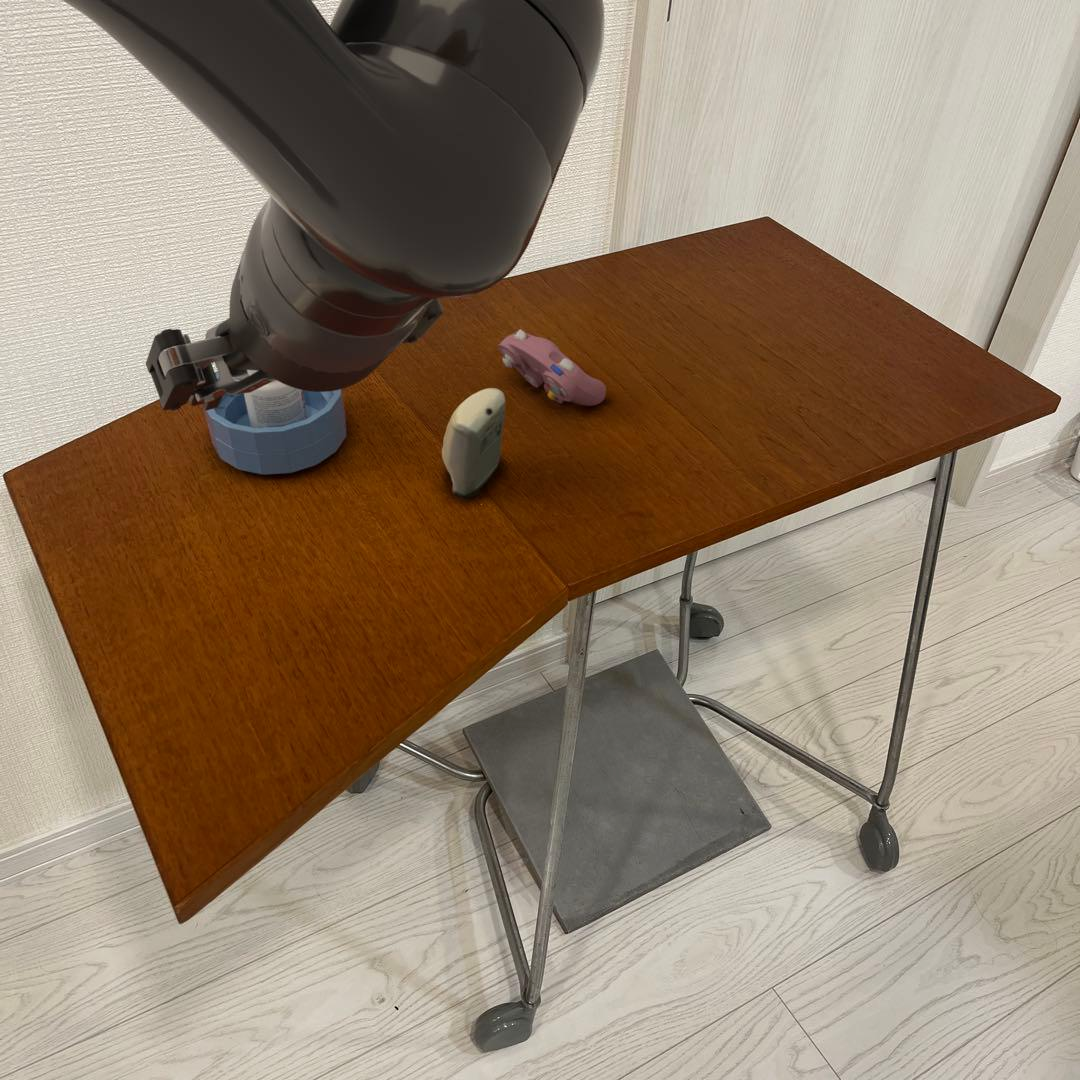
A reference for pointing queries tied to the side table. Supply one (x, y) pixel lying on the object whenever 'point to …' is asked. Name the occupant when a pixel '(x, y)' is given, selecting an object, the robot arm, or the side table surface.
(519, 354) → the video game controller
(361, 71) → the robot arm
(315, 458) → the bowl
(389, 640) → the side table surface
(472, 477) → the cream rounded block
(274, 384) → the pill bottle
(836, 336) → the side table surface
